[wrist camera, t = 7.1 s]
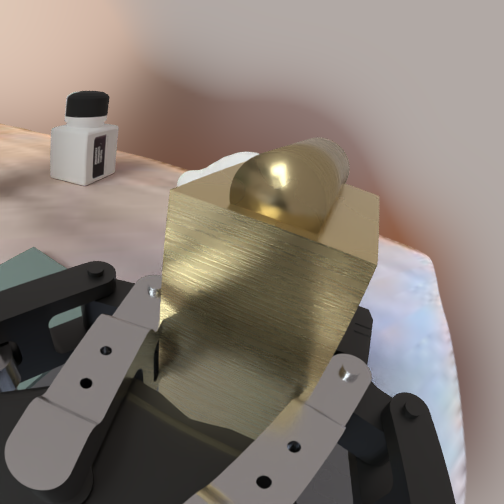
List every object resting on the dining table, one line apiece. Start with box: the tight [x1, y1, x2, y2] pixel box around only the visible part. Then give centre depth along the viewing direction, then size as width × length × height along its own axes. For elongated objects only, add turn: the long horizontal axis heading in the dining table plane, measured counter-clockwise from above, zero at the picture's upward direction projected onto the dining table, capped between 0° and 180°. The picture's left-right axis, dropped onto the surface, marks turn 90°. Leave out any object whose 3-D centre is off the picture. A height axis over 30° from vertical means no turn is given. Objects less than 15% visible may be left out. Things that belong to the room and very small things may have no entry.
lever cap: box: [159, 138, 379, 440], centre depth 10 cm, size 4×5×14 cm
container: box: [50, 91, 118, 186], centre depth 40 cm, size 8×8×13 cm
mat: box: [0, 247, 82, 390], centre depth 18 cm, size 12×12×1 cm
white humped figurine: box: [177, 152, 259, 187], centre depth 38 cm, size 6×8×12 cm
